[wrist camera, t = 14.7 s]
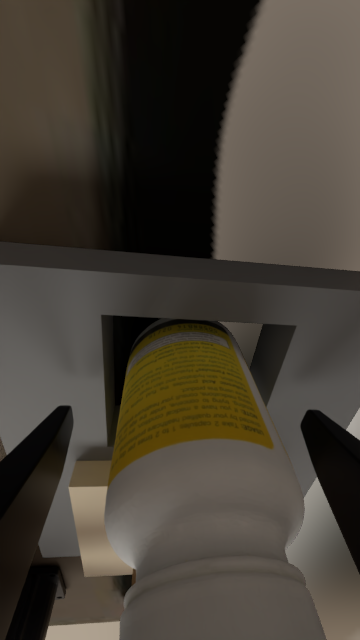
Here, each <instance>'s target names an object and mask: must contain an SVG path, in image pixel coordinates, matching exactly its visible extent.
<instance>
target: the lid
mask: <svg viewBox="0 0 360 640" xmlns="http://www.w3.org/2000/svg"><path fill="white" fill-rule="evenodd" d="M111 462H112V461H76V462H75V466H74V469H73V473H72V476H71V480H70V483H69V487H68V488H69V493H70V499H71V504H72V510H73V515H74V521H75V526H76V532H77V537H78V543H79V548H80V554H81V559H82V565H83V570H84V576H85V577H92V576H110V575H128V574H133V575H132V586H133V585H134V584H135V583H136V569H134V568H132V567H130V566H128V565H127V564H126V563H124V562H123V561H122V560H121V559H120V558H119V557H118V555H117V554H116V553H115V552H114V550H113V548H112V547H111V544H110V542H109V540H108V538H107V534H106V529H105V523H104V512H105V504H106V494H107V487H108V480H109V474H110V467H111Z"/></svg>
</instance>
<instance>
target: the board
mask: <svg viewBox="0 0 360 640" xmlns="http://www.w3.org/2000/svg"><path fill="white" fill-rule="evenodd" d="M113 315H116V316H134V317H152V318H170V319H188V320H206V321H224V322H243V323H262V324H263V326H262V330H261V333H260V336H259V340H258V343H257V347H256V351H255V353H254V356H253V360H252V363H251V366H250V372H251V375H252V377H253V379H254V382H255V384H256V386H257V388H258V391H259V393H260V395H261V398H262V400H263V402H264V404H265V406H266V408H267V410H268V413H269V415H270V417H271V419H272V422H273V424H274V426H275V428H276V430H277V433H278V435H279V437H280V439H281V441H282V444H283V446H284V448H285V450H286V452H287V454H288V457H289V459H290V462H291V464H292V466H293V468H294V471H295V474H296V477H297V479H298V481H299V484H300V486H301V490H302V493H303V498H304V496H305V495H306V493H307V492H308V490H309V489H310V487H311V485H312V484H313V482H314V480H315V478H316V477H317V475H316V473H315V470H314V468H313V465H312V462H311V459H310V456H309V453H308V450H307V447H306V444H305V441H304V438H303V435H302V432H301V427H300V424H301V421H302V419H303V417H304V415H305V413H306V411H307V410H309V409H316V410H320V411H321V412H322V413H324V414H325V415H326V416H328V417H329V418H330V419H332V420H333V421H334V422H336V423H337V424H338V425H340V426H341V427H342V428H344V429H345V430H346V429H347V427H348V425H349V424H350V422H351V421H352V419H353V417H354V416H355V414H356V412H357V411H358V409H359V408H360V272H359V271H347V270H334V269H323V268H311V267H300V266H299V267H298V266H286V265H276V264H263V263H251V262H240V261H227V260H216V259H204V258H192V257H180V256H168V255H156V254H144V253H132V252H120V251H108V250H96V249H84V248H72V247H60V246H48V245H36V244H24V243H12V242H0V437H1V440H2V443H3V446H4V449H5V451H6V454H7V455H8V454H9V453H10V452H11V451H12V450H13V449H14V448H15V447H16V446H17V445H18V444H19V443H20V442H21V441H22V440H23V439H24V438H25V437H27V436H28V435H29V434H30V433H31V432H32V431H33V430H34V429H35V428H36V427H37V426H38V425H39V424H40V423H41V422H42V421H43V420H44V419H45V418H46V417H47V416H48V415H49V414H50V413H51V412H53V411H54V410H55V409H56V408H57V407H58V406H60V405H70V406H71V407H72V412H73V419H74V425H73V430H72V435H71V439H70V443H69V448H68V452H67V456H66V461H65V465H64V469H63V473H62V476H61V479H60V482H59V485H58V488H57V490H56V493H55V496H54V499H53V502H52V505H51V508H50V511H49V513H48V516H47V519H46V522H45V525H44V528H43V531H42V534H41V537H40V539H39V542H38V545H39V548H40V551H41V554H42V557H43V558H49V557H70V556H81V554H80V548H79V543H78V537H77V532H76V526H75V521H74V515H73V510H72V504H71V499H70V493H69V488H68V487H69V483H70V480H71V476H72V473H73V469H74V466H75V462H76V461H112V456H113V450H114V445H115V439H116V432H117V425H118V420H119V414H120V407H121V405H115V378H114V336H113Z"/></svg>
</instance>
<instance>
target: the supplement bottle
mask: <svg viewBox="0 0 360 640" xmlns="http://www.w3.org/2000/svg"><path fill="white" fill-rule="evenodd" d="M304 509H305V508H304V498H303V493H302V490H301V486H300V484H299V481H298V479H297V477H296V474H295V471H294V468H293V466H292V464H291V462H290V459H289V457H288V454H287V452H286V450H285V448H284V446H283V444H282V441H281V439H280V437H279V435H278V433H277V430H276V428H275V426H274V424H273V422H272V419H271V417H270V415H269V413H268V410H267V408H266V406H265V404H264V402H263V400H262V398H261V395H260V393H259V391H258V388H257V386H256V384H255V382H254V379H253V377H252V375H251V372H250V370H249V368H248V366H247V363H246V361H245V359H244V357H243V354H242V352H241V350H240V348H239V346H238V344H237V342H236V340H235V338H234V337H233V335H232V334H231V332H230V331H229V330H228V329H227V328H226V327H225V326H223V325H222V324H221V323H219V322H218V321H206V320H188V319H170V318H162V319H160V320H157V321H156V322H154V323H152V324H151V325H150V326H148V327H147V328H146V329H145V330H144V331H143V332H142V333H141V334H140V335H139V336H138V337H137V339H136V340H135V342H134V344H133V346H132V349H131V352H130V355H129V359H128V365H127V369H126V377H125V383H124V389H123V395H122V401H121V407H120V414H119V420H118V425H117V432H116V439H115V445H114V450H113V456H112V462H111V467H110V474H109V480H108V487H107V494H106V504H105V512H104V523H105V529H106V534H107V538H108V540H109V542H110V544H111V547H112V548H113V550H114V552H115V553H116V554H117V555H118V557H119V558H120V559H121V560H122V561H123V562H124V563H126V564H127V565H128V566H130V567H132V568H134V569H136V583H135V584H134V585H133V586H132V587H131V588H130V589H129V590H128V591H127V593H126V595H125V598H124V608H125V610H124V612H123V613H122V615H121V619H120V640H327V639H326V637H325V634H324V631H323V628H322V625H321V622H320V619H319V616H318V614H317V610H316V608H315V605H314V602H313V599H312V596H311V594H310V592H309V590H308V589H307V588H306V583H305V578H304V576H303V574H302V572H301V571H300V570H299V569H298V568H297V567H295V566H294V565H292V564H290V563H288V560H287V557H286V554H285V550H286V549H287V548H288V547H289V546H290V545H291V544H292V542H293V540H294V539H295V538H296V536H297V535H298V533H299V531H300V529H301V526H302V523H303V518H304Z"/></svg>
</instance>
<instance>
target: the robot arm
mask: <svg viewBox="0 0 360 640" xmlns="http://www.w3.org/2000/svg"><path fill="white" fill-rule="evenodd" d="M73 425H74V419H73V412H72V407H71V406H70V405H60V406H58V407H57V408H56V409H55V410H54V411H53V412H51V413H50V414H49V415H48V416H47V417H46V418H45V419H44V420H43V421H42V422H41V423H40V424H39V425H38V426H37V427H36V428H35V429H34V430H33V431H32V432H31V433H30V434H29V435H28V436H27V437H25V438H24V439H23V440H22V441H21V442H20V443H19V444H18V445H17V446H16V447H15V448H14V449H13V450H12V451H11V452H10V453H9V454H8V455H7V456H6V457H5V458H4V459H3V460H2V461H0V640H45V637H46V633H47V629H48V625H49V621H50V617H51V613H52V609H53V605H54V601H55V600H58V599H64V598H65V594H66V590H65V586H64V583H63V580H62V576H61V573H60V570H59V568H56V567H50V568H31V569H29V568H30V565H31V562H32V560H33V557H34V554H35V551H36V548H37V545H38V542H39V539H40V537H41V534H42V531H43V528H44V525H45V522H46V519H47V516H48V513H49V511H50V508H51V505H52V502H53V499H54V496H55V493H56V490H57V488H58V485H59V482H60V479H61V476H62V473H63V469H64V465H65V461H66V456H67V452H68V448H69V443H70V439H71V435H72V430H73ZM300 427H301V432H302V435H303V438H304V441H305V444H306V447H307V450H308V453H309V456H310V459H311V462H312V465H313V468H314V470H315V473H316V475H317V477H318V479H319V482H320V484H321V486H322V489H323V491H324V493H325V496H326V498H327V500H328V503H329V505H330V507H331V510H332V512H333V514H334V516H335V519H336V521H337V523H338V526H339V528H340V530H341V532H342V535H343V537H344V539H345V542H346V544H347V546H348V549H349V551H350V553H351V556H352V558H353V560H354V562H355V565H356V567H357V569H358V572H359V574H360V440H358V439H357V438H355V437H354V436H353V435H352V434H350V433H349V432H348V431H346V430H345V429H344V428H342V427H341V426H340V425H338V424H337V423H336V422H334V421H333V420H332V419H330V418H329V417H328V416H326V415H325V414H324V413H322V412H321V411H320V410H316V409H309V410H307V411H306V413H305V415H304V417H303V419H302V421H301V424H300Z"/></svg>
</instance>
